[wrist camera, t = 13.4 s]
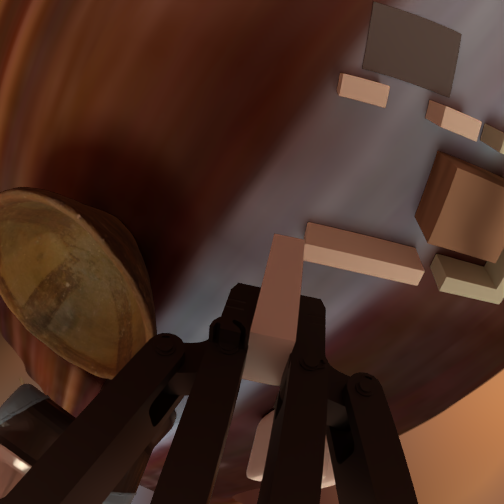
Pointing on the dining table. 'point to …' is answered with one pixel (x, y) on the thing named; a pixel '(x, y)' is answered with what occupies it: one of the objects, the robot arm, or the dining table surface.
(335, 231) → the channel
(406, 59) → the mat
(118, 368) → the bowl
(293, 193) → the dining table surface
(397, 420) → the dining table surface
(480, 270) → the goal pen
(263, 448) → the cable organizer
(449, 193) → the block
